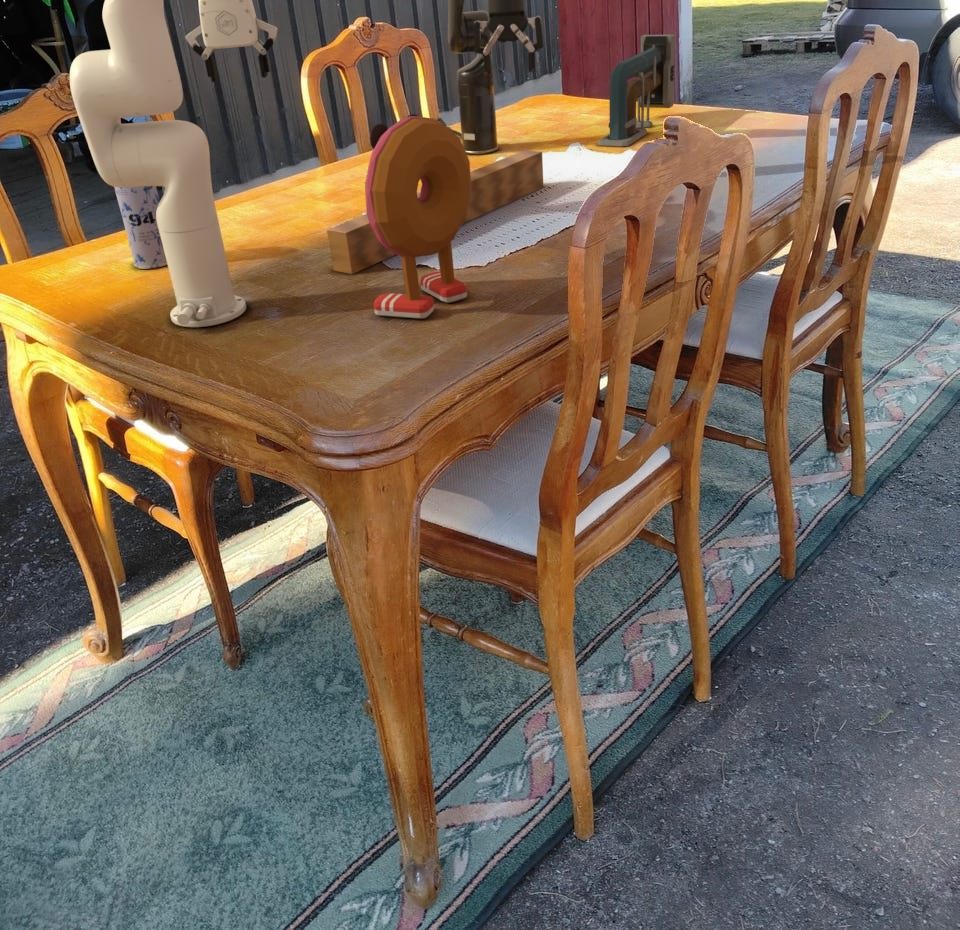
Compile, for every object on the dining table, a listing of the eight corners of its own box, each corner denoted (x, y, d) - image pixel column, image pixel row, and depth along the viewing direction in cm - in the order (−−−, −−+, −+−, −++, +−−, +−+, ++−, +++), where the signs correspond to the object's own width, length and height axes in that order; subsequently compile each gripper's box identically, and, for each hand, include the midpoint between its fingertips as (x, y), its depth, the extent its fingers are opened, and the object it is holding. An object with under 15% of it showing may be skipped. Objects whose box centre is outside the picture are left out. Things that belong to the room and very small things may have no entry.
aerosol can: (133, 271, 187) (105, 166, 177) (134, 259, 194) (107, 157, 184) (174, 264, 189) (149, 160, 179) (174, 253, 195) (150, 152, 185)
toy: (445, 278, 171) (428, 100, 155) (490, 288, 165) (476, 104, 149) (359, 319, 157) (331, 128, 142) (404, 331, 151) (380, 133, 136)
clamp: (627, 146, 245) (627, 56, 234) (595, 145, 249) (593, 56, 238) (672, 117, 270) (675, 34, 260) (643, 116, 274) (644, 34, 263)
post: (352, 274, 177) (345, 232, 173) (333, 270, 179) (326, 229, 175) (543, 186, 218) (542, 151, 214) (526, 184, 221) (524, 150, 217)
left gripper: (170, -15, 175) (191, 85, 183) (265, -23, 175) (282, 78, 183) (179, -18, 181) (199, 79, 190) (271, -26, 181) (287, 72, 190)
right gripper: (541, -18, 197) (544, 67, 205) (471, -12, 198) (477, 72, 206) (540, -15, 190) (543, 73, 199) (468, -9, 192) (475, 78, 200)
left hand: (240, 78), depth 187 cm, fingers open, 9 cm apart
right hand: (510, 72), depth 202 cm, fingers open, 8 cm apart
